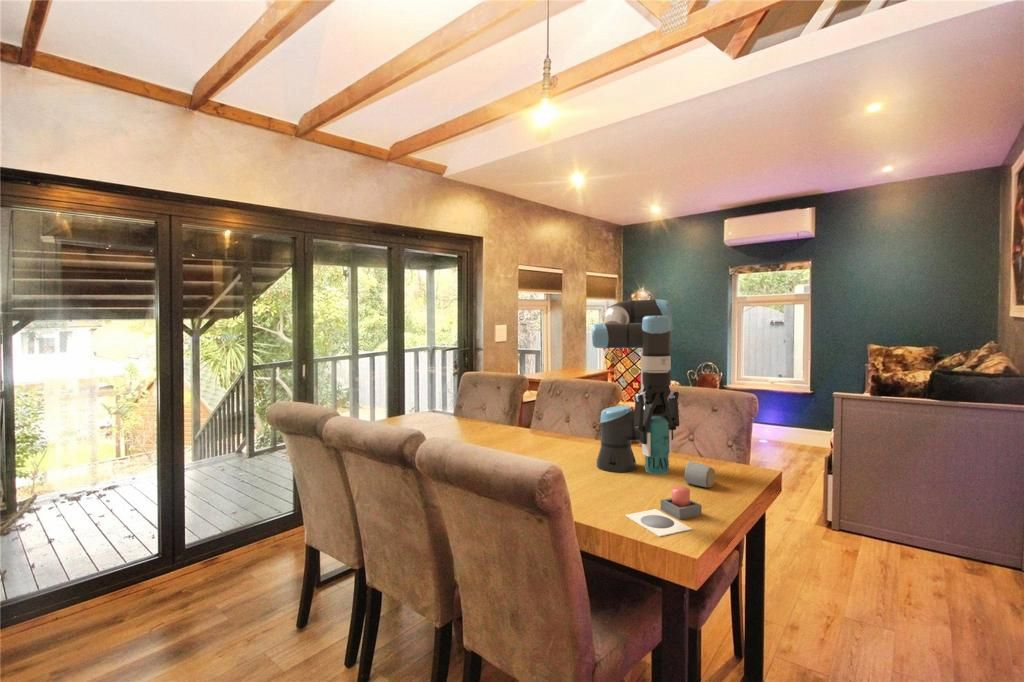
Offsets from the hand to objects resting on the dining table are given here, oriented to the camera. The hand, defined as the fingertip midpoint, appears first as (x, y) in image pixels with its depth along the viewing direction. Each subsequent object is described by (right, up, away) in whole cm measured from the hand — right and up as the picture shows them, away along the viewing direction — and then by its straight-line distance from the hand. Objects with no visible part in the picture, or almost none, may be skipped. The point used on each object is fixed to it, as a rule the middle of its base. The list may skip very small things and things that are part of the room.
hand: (656, 453), depth 132 cm
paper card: (0, -19, +1) cm, 19 cm away
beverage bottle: (0, -7, 0) cm, 7 cm away
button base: (+9, -19, +8) cm, 23 cm away
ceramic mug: (+25, -18, +32) cm, 44 cm away
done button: (+9, -17, +7) cm, 21 cm away
